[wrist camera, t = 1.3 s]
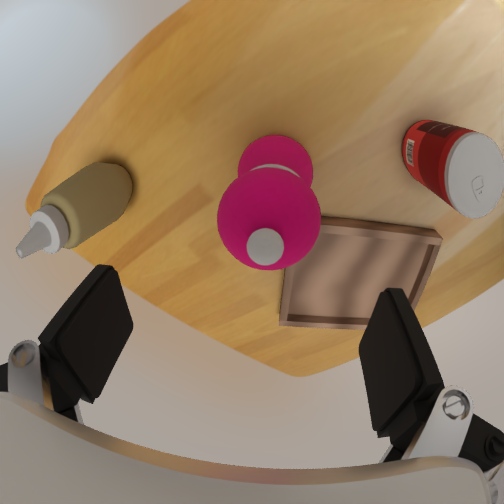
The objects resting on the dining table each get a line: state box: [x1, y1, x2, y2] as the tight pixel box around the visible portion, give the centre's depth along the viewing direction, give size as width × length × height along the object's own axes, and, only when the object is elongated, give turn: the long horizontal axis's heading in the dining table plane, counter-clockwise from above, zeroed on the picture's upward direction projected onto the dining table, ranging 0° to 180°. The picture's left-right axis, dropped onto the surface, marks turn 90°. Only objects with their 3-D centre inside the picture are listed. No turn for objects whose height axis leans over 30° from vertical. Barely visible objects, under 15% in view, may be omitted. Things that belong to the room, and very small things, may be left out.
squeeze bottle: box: [16, 163, 132, 258], centre depth 25 cm, size 8×8×18 cm
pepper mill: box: [217, 135, 321, 270], centre depth 21 cm, size 7×7×20 cm
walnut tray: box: [279, 216, 443, 330], centre depth 35 cm, size 20×16×2 cm
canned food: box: [402, 120, 504, 219], centre depth 21 cm, size 8×8×11 cm
